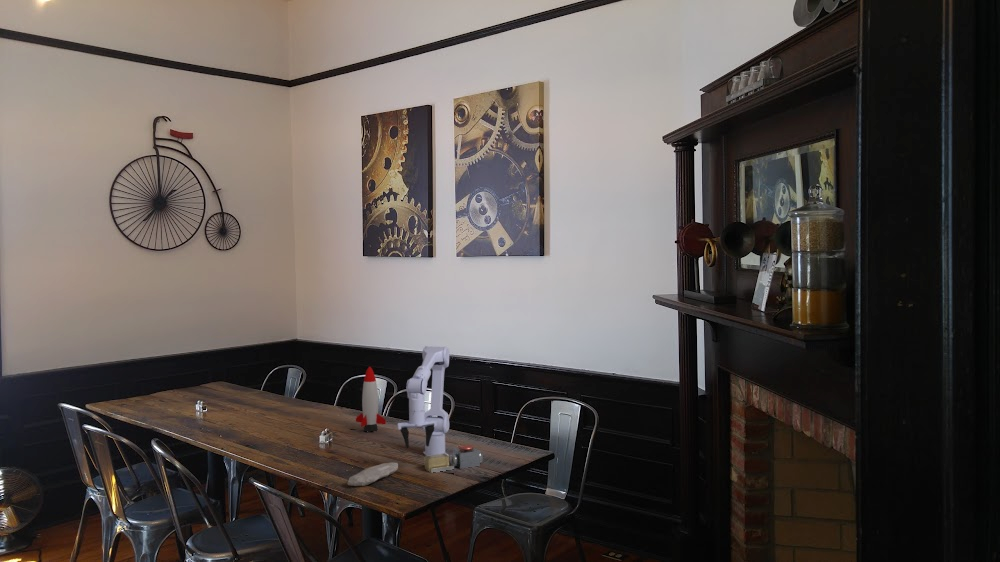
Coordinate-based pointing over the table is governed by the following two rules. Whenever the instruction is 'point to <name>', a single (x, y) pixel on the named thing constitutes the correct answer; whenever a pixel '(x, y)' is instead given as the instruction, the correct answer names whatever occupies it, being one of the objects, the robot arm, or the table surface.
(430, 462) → the gold flanged block
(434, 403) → the robot arm
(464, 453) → the valve
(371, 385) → the toy rocket
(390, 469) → the stone tool
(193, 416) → the table surface
